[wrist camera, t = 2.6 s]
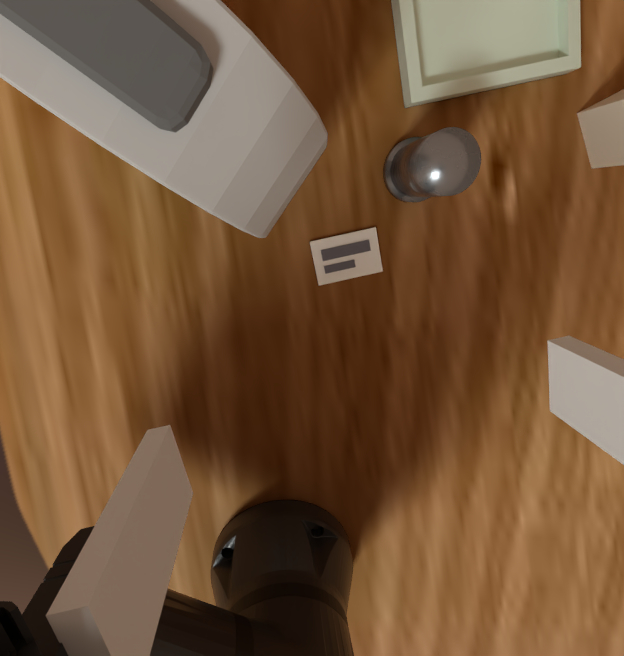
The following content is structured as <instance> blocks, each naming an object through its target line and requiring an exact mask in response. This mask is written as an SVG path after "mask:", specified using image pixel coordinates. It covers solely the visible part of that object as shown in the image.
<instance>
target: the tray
mask: <svg viewBox="0 0 624 656" xmlns="http://www.w3.org/2000/svg"><path fill="white" fill-rule="evenodd" d="M391 4H392V12H393V20H394V28H395V36H396V43H397V51H398V59H399V67H400V75H401V83H402V91H403V99H404V107H405V108H408V107H412V106H417V105H422V104H426V103H431V102H436V101H441V100H445V99H450V98H455V97H459V96H464V95H469V94H474V93H478V92H483V91H488V90H492V89H497V88H502V87H507V86H511V85H516V84H521V83H525V82H530V81H535V80H540V79H544V78H549V77H554V76H558V75H563V74H567V73H569V72H571V71H574V70H576V69H578V68H580V67H581V27H580V0H391Z"/></svg>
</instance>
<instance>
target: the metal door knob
mask: <svg viewBox="0 0 624 656" xmlns="http://www.w3.org/2000/svg"><path fill="white" fill-rule="evenodd" d="M480 165H481V152H480V148H479V145H478V143H477V141H476V139H475V138H474V137H473V136H472V135H471V134H470V133H469V132H467V131H466V130H464V129H461V128H457V127H448V128H444V129H441V130H439V131H436V132H434V133H432V134H430V135H427V136H425V137H412V138H408V139H406V140H404V141H401V142H400V143H398V144H397V145H395V146H394V147H393V148H392V149H391V151H390V152H389V154H388V155H387V157H386V160H385V163H384V167H383V178H384V182H385V185H386V187H387V189H388V190H389V192H390V193H391V194H392V195H393V196H394V197H396V198H397V199H399V200H401V201H404V202H420V201H423V200H425V199H428V198H429V197H433V196H451V195H456V194H458V193H461V192H462V191H464V190H466V189H467V188H468V187H469V186H470V185H471V184H472V183H473V181H474V180H475V178H476V177H477V175H478V172H479V169H480Z"/></svg>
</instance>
